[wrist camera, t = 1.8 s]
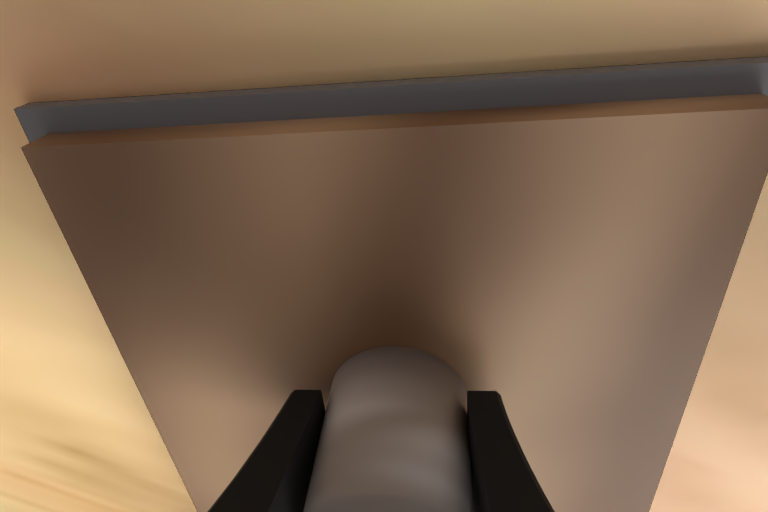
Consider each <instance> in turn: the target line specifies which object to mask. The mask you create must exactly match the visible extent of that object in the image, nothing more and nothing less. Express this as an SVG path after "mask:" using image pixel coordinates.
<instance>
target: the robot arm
mask: <svg viewBox="0 0 768 512" xmlns="http://www.w3.org/2000/svg"><path fill="white" fill-rule="evenodd" d="M325 412H326V411H325V406H324V402H323V397H322V392H321V390H294V391H293V392H292V393H291V394H290V395H289V397H288V399H287V400H286V402H285V403H284V405H283V407H282V408H281V410H280V411H279V413H278V415H277V416H276V418H275V419H274V421H273V422H272V424H271V425H270V427H269V428H268V430H267V431H266V433H265V434H264V436H263V437H262V439H261V440H260V442H259V443H258V445H257V446H256V448H255V449H254V450H253V452H252V453H251V455H250V456H249V457H248V459H247V460H246V462H245V463H244V464H243V466H242V467H241V469H240V470H239V472H238V473H237V474H236V476H235V477H234V478H233V480H232V481H231V482H230V484H229V485H228V486H227V487H226V489H225V490H224V491H223V493H222V494H221V495H220V496H219V498H218V499H217V500H216V501H215V503H214V504H213V505H212V507H211V508H210V509H209V510H208V512H303V510H304V506H305V501H306V497H307V492H308V488H309V483H310V479H311V474H312V470H313V466H314V461H315V457H316V452H317V448H318V443H319V439H320V434H321V430H322V425H323V421H324V416H325ZM467 422H468V436H469V450H470V459H471V471H472V484H473V498H474V512H555V511H554V510H553V508H552V506H551V504H550V503H549V501H548V499H547V497H546V495H545V494H544V492H543V490H542V488H541V486H540V484H539V482H538V480H537V478H536V476H535V474H534V472H533V471H532V469H531V467H530V465H529V463H528V461H527V459H526V457H525V455H524V453H523V450H522V448H521V446H520V444H519V442H518V439H517V437H516V435H515V433H514V430H513V428H512V426H511V423H510V421H509V418H508V415H507V413H506V410H505V407H504V404H503V401H502V398H501V395H500V394H499V393H498V392H497V391H467Z"/></svg>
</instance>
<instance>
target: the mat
mask: <svg viewBox="0 0 768 512" xmlns="http://www.w3.org/2000/svg"><path fill="white" fill-rule="evenodd" d="M744 94H764V95H766V96H768V57H753V58H737V59H721V60H705V61H689V62H673V63H657V64H642V65H626V66H610V67H594V68H578V69H562V70H547V71H531V72H515V73H499V74H483V75H467V76H451V77H436V78H420V79H404V80H388V81H372V82H356V83H341V84H325V85H309V86H293V87H277V88H261V89H245V90H230V91H214V92H198V93H182V94H166V95H150V96H135V97H119V98H103V99H87V100H71V101H55V102H39V103H27V104H25V105H22V106H20V107H18V108H15V109H14V111H15V113H16V115H17V117H18V119H19V121H20V123H21V125H22V128H23V130H24V132H25V134H26V136H27V138H28V140H29V142H30V143H31V142H33V141H35V140H37V139H39V138H41V137H43V136H44V135H46V134H48V133H60V132H78V131H96V130H114V129H132V128H150V127H168V126H186V125H204V124H222V123H240V122H258V121H276V120H294V119H312V118H330V117H348V116H366V115H384V114H402V113H420V112H438V111H456V110H474V109H492V108H510V107H528V106H546V105H564V104H582V103H600V102H618V101H636V100H654V99H672V98H690V97H708V96H726V95H744Z"/></svg>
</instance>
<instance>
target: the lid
mask: <svg viewBox="0 0 768 512" xmlns="http://www.w3.org/2000/svg"><path fill="white" fill-rule="evenodd" d="M21 148H22V151H23V153H24V155H25V157H26V159H27V161H28V163H29V165H30V167H31V169H32V171H33V173H34V175H35V177H36V179H37V181H38V184H39V186H40V188H41V190H42V192H43V194H44V196H45V198H46V200H47V202H48V204H49V206H50V208H51V210H52V212H53V214H54V217H55V219H56V221H57V223H58V225H59V227H60V229H61V231H62V233H63V235H64V237H65V239H66V241H67V243H68V245H69V247H70V250H71V252H72V254H73V256H74V258H75V260H76V262H77V264H78V266H79V268H80V270H81V272H82V274H83V276H84V278H85V280H86V283H87V285H88V287H89V289H90V291H91V293H92V295H93V297H94V299H95V301H96V303H97V305H98V307H99V309H100V311H101V313H102V316H103V318H104V320H105V322H106V324H107V326H108V328H109V330H110V332H111V334H112V336H113V338H114V340H115V342H116V344H117V346H118V349H119V351H120V353H121V355H122V357H123V359H124V361H125V363H126V365H127V367H128V369H129V371H130V373H131V375H132V377H133V379H134V382H135V384H136V386H137V388H138V390H139V392H140V394H141V396H142V398H143V400H144V402H145V404H146V406H147V408H148V410H149V412H150V415H151V417H152V419H153V421H154V423H155V425H156V427H157V429H158V431H159V433H160V435H161V437H162V439H163V441H164V443H165V445H166V448H167V450H168V452H169V454H170V456H171V458H172V460H173V462H174V464H175V466H176V468H177V470H178V472H179V474H180V476H181V478H182V481H183V483H184V485H185V487H186V489H187V491H188V493H189V495H190V497H191V499H192V501H193V503H194V505H195V507H196V509H197V511H198V512H208V510H209V509H210V508H211V507H212V505H213V504H214V503H215V501H216V500H217V499H218V498H219V496H220V495H221V494H222V493H223V491H224V490H225V489H226V487H227V486H228V485H229V484H230V482H231V481H232V480H233V478H234V477H235V476H236V474H237V473H238V472H239V470H240V469H241V467H242V466H243V464H244V463H245V462H246V460H247V459H248V457H249V456H250V455H251V453H252V452H253V450H254V449H255V448H256V446H257V445H258V443H259V442H260V440H261V439H262V437H263V436H264V434H265V433H266V431H267V430H268V428H269V427H270V425H271V424H272V422H273V421H274V419H275V418H276V416H277V415H278V413H279V411H280V410H281V408H282V407H283V405H284V403H285V402H286V400H287V399H288V397H289V395H290V394H291V393H292V392H293V391H294V390H321V392H322V397H323V402H324V406H325V411H326V412H325V416H324V421H323V425H322V430H321V434H320V439H319V443H318V448H317V452H316V457H315V461H314V466H313V470H312V474H311V479H310V483H309V488H308V492H307V497H306V501H305V506H304V510H303V512H474V498H473V484H472V471H471V459H470V450H469V436H468V422H467V391H497V392H498V393H499V394H500V395H501V398H502V401H503V404H504V407H505V410H506V413H507V415H508V418H509V421H510V423H511V426H512V428H513V430H514V433H515V435H516V437H517V439H518V442H519V444H520V446H521V448H522V450H523V453H524V455H525V457H526V459H527V461H528V463H529V465H530V467H531V469H532V471H533V472H534V474H535V476H536V478H537V480H538V482H539V484H540V486H541V488H542V490H543V492H544V494H545V495H546V497H547V499H548V501H549V503H550V504H551V506H552V508H553V510H554V511H555V512H649V510H650V507H651V504H652V501H653V499H654V496H655V493H656V490H657V487H658V484H659V481H660V479H661V476H662V473H663V470H664V467H665V464H666V461H667V459H668V456H669V453H670V450H671V447H672V444H673V441H674V439H675V436H676V433H677V430H678V427H679V424H680V421H681V419H682V416H683V413H684V410H685V407H686V404H687V401H688V399H689V396H690V393H691V390H692V387H693V384H694V381H695V379H696V376H697V373H698V370H699V367H700V364H701V361H702V359H703V356H704V353H705V350H706V347H707V344H708V341H709V339H710V336H711V333H712V330H713V327H714V324H715V321H716V319H717V316H718V313H719V310H720V307H721V304H722V301H723V299H724V296H725V293H726V290H727V287H728V284H729V281H730V279H731V276H732V273H733V270H734V267H735V264H736V261H737V259H738V256H739V253H740V250H741V247H742V244H743V241H744V239H745V236H746V233H747V230H748V227H749V224H750V221H751V219H752V216H753V213H754V210H755V207H756V204H757V201H758V199H759V196H760V193H761V190H762V187H763V184H764V181H765V179H766V176H767V173H768V96H766V95H764V94H744V95H726V96H708V97H690V98H672V99H654V100H636V101H618V102H600V103H582V104H564V105H546V106H528V107H510V108H492V109H474V110H456V111H438V112H420V113H402V114H384V115H366V116H348V117H330V118H312V119H294V120H276V121H258V122H240V123H222V124H204V125H186V126H168V127H150V128H132V129H114V130H96V131H78V132H60V133H48V134H46V135H44V136H43V137H41V138H39V139H37V140H35V141H33V142H31V143H29V144H27V145H25V146H23V147H21Z"/></svg>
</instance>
